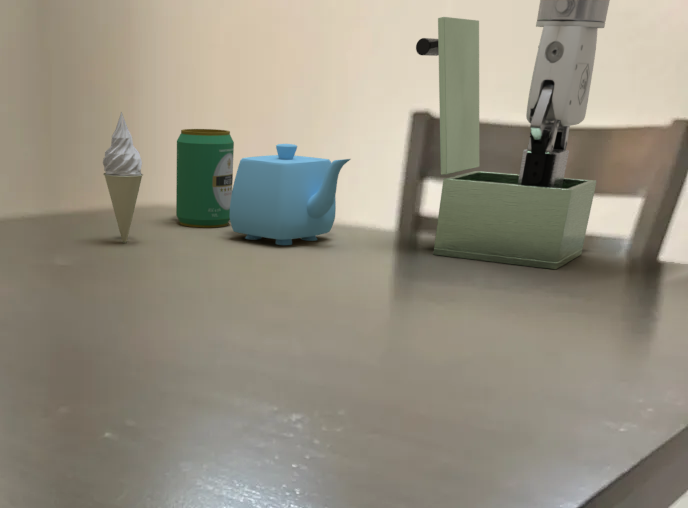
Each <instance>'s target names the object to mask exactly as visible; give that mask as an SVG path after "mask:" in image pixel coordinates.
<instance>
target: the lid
mask: <svg viewBox="0 0 688 508" xmlns="http://www.w3.org/2000/svg"><path fill="white" fill-rule="evenodd" d="M415 51H416V53H417V54H418V55H419V56H429V57H430V56H431V57H433V56H435V57H437V56H438V93H439V94H438V95H439V96H438V97H439V99H438V101H439V151H440V152H439V153H440V155H439V156H440V175H441V176H444V175H445V176H446V175H450V174H454V173H458V172H462V171H467V170H471V169H475V168H480V20H476V19H467V18H460V17H459V18H458V17H451V16H441V17H438V18H437V38H431V37H430V38H429V37H422V38H420V39H418V41H417V42H416V45H415Z"/></svg>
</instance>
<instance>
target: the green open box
mask: <svg viewBox="0 0 688 508" xmlns="http://www.w3.org/2000/svg"><path fill="white" fill-rule="evenodd" d="M518 179H519V173H508V172H496V171H483V170H475V171H470V172H466V173H462V174H461V173H460V174H458V175H453V176H450V177H446V178H443V180H442V186H441V193H440V194H441V195H440V202H439V209H438V215H437V223H436V230H435V238H434V245H433V252H432V253H433V254H432V255H434V256H441V257H448V258H449V257H450V258H458V259H467V260H473V261H475V260H476V261H483V262H491V263H498V264H499V263H500V264H506V265H513V266H514V265H515V266H523V267H524V266H525V267H531V268H541V269H547V270H558V269H559V268H562V267H563V266H565V265H567V264H568V263H569V262H572V261H573V260H574V259H577V258H578V257H580V256H581V255H582V253H583V247H584V243H585V239H586V234H587V229H588V223H589V219H590V215H591V210H592V206H593V200H594V196H595V190H596V186H597V180H595V179H593V180H592V179H581V178H570V177H564V180H563V185H562V188H553V187H541V186H529V185H518Z"/></svg>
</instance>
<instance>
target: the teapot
mask: <svg viewBox="0 0 688 508" xmlns="http://www.w3.org/2000/svg"><path fill="white" fill-rule="evenodd" d="M275 149H276V153H277V154H271V155H259V156H258V155H257V156H247V157H242V158H241V159H240V160H239V163H238V166H237V170H236V173H235V174H236V175H235V178H234V180H233V181H234V182H233V184H232V195H231V202H230V215H229V216H230V220H229V222H230V225H231V228H232V231H233V232H234V233H238V234H243V235H246V236H245V237H244V239H246V240H251V241H253V240H262V239H263V238H266V239H272V240H275V245H279V246H291V245H293V240H296V239H300V240H302V241H306V242H307V241H308V242H309V241H310V242H315V241H318V238H317V236H321V235H324V234H328V233H331V230H332V228H333V225H334V223H335V219H336V207H337V206H336V204H337V203H336V202H337V201H336V199H337V197H336V193H337V187H338V180H339V175H340V172H341V170H342V168H343V167H344V166H345V165H346V164H347V163H348V162H349V161H351V160H352V158H345V159H334V160H333V161H331V160H330V159H329V158H321V157H314V156H313V157H311V156H304V155H296V152H297V149H298V145H297V144H295V143H294V144H293V143H278V144H276V145H275Z"/></svg>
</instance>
